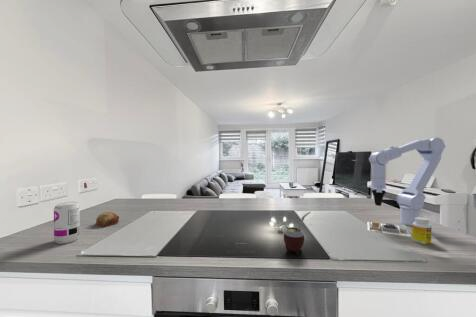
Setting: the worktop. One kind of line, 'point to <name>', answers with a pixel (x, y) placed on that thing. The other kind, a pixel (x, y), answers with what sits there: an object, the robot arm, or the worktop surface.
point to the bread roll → (107, 219)
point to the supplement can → (66, 222)
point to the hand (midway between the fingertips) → (378, 205)
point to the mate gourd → (294, 238)
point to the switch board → (388, 229)
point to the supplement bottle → (421, 231)
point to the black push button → (390, 226)
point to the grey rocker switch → (402, 228)
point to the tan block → (375, 225)
